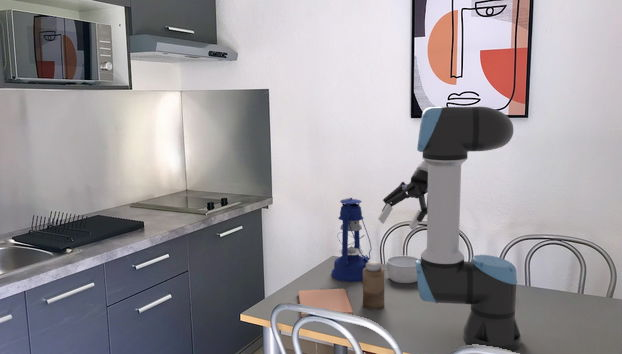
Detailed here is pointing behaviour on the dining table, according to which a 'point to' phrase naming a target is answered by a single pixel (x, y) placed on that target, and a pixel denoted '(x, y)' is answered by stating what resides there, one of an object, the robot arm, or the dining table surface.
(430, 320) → the dining table surface
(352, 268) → the lantern
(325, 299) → the plate
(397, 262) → the ramekin
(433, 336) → the dining table surface
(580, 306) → the dining table surface
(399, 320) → the dining table surface
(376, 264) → the pepper mill
